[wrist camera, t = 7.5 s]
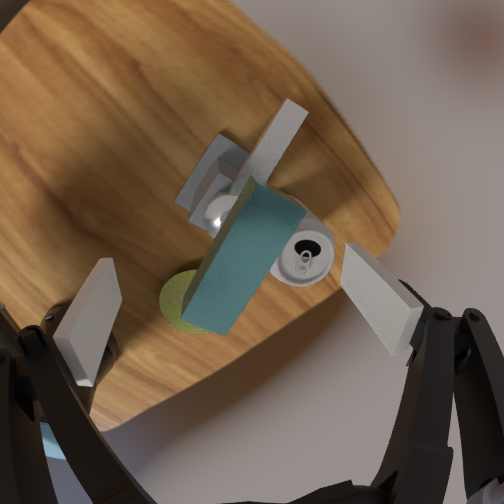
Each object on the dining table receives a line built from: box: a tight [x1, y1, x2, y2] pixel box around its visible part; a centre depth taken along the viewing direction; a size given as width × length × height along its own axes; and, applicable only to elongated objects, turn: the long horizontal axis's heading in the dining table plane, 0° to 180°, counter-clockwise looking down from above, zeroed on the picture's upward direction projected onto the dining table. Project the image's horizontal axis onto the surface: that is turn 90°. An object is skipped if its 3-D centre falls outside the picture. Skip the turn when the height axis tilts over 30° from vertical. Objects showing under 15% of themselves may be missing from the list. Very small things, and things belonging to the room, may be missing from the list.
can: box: [270, 195, 335, 287], centre depth 33 cm, size 8×8×12 cm
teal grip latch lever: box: [180, 98, 309, 336], centre depth 19 cm, size 4×15×10 cm, turn 150°
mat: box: [159, 270, 213, 334], centre depth 41 cm, size 11×11×2 cm
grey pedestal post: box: [174, 133, 250, 232], centre depth 30 cm, size 10×8×12 cm
